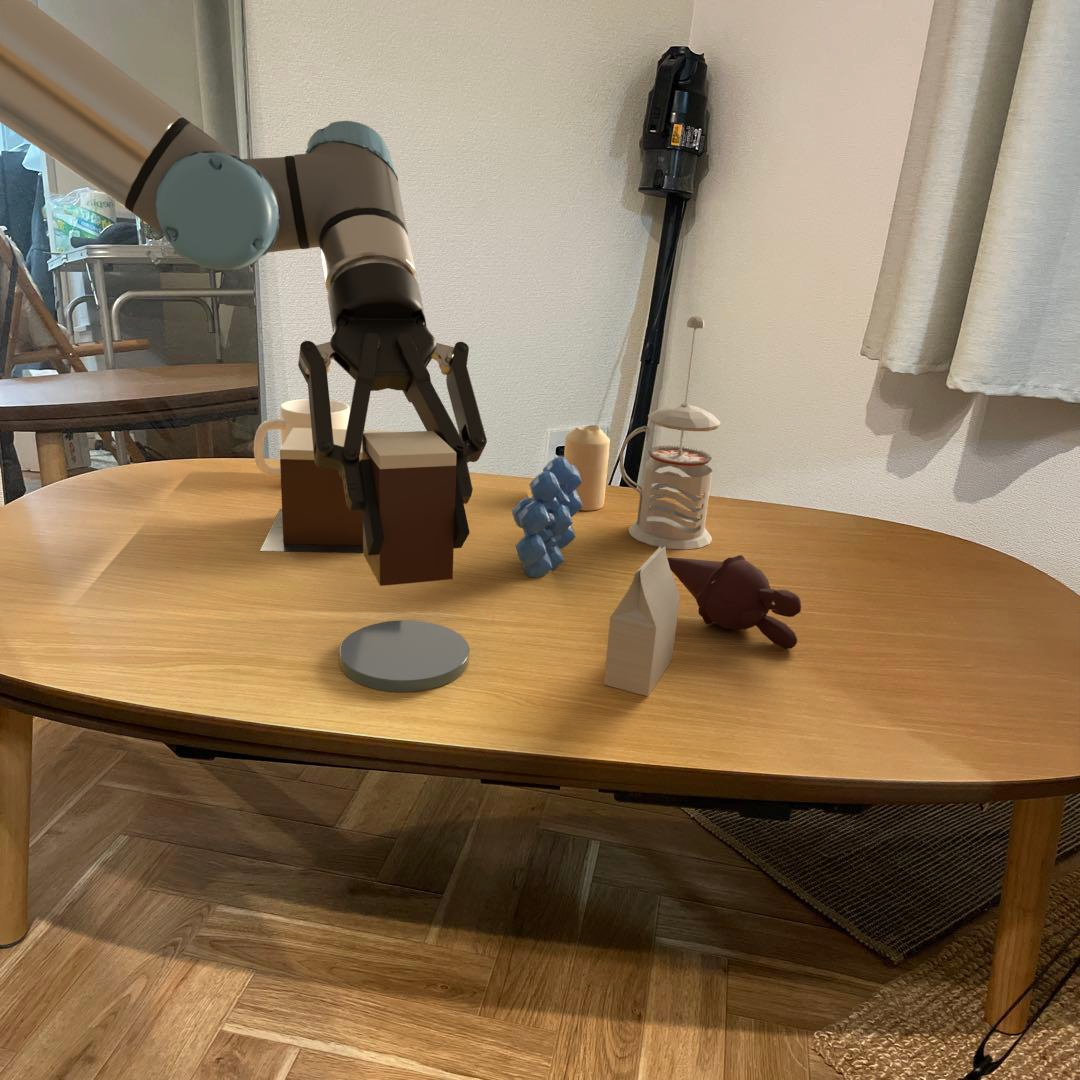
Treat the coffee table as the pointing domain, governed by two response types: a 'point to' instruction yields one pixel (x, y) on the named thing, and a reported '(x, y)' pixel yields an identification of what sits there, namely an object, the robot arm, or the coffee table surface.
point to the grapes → (548, 517)
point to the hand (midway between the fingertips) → (419, 543)
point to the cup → (294, 426)
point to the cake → (315, 495)
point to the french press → (675, 478)
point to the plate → (404, 656)
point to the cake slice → (412, 506)
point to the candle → (589, 463)
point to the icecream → (738, 596)
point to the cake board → (276, 544)
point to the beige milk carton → (643, 628)
